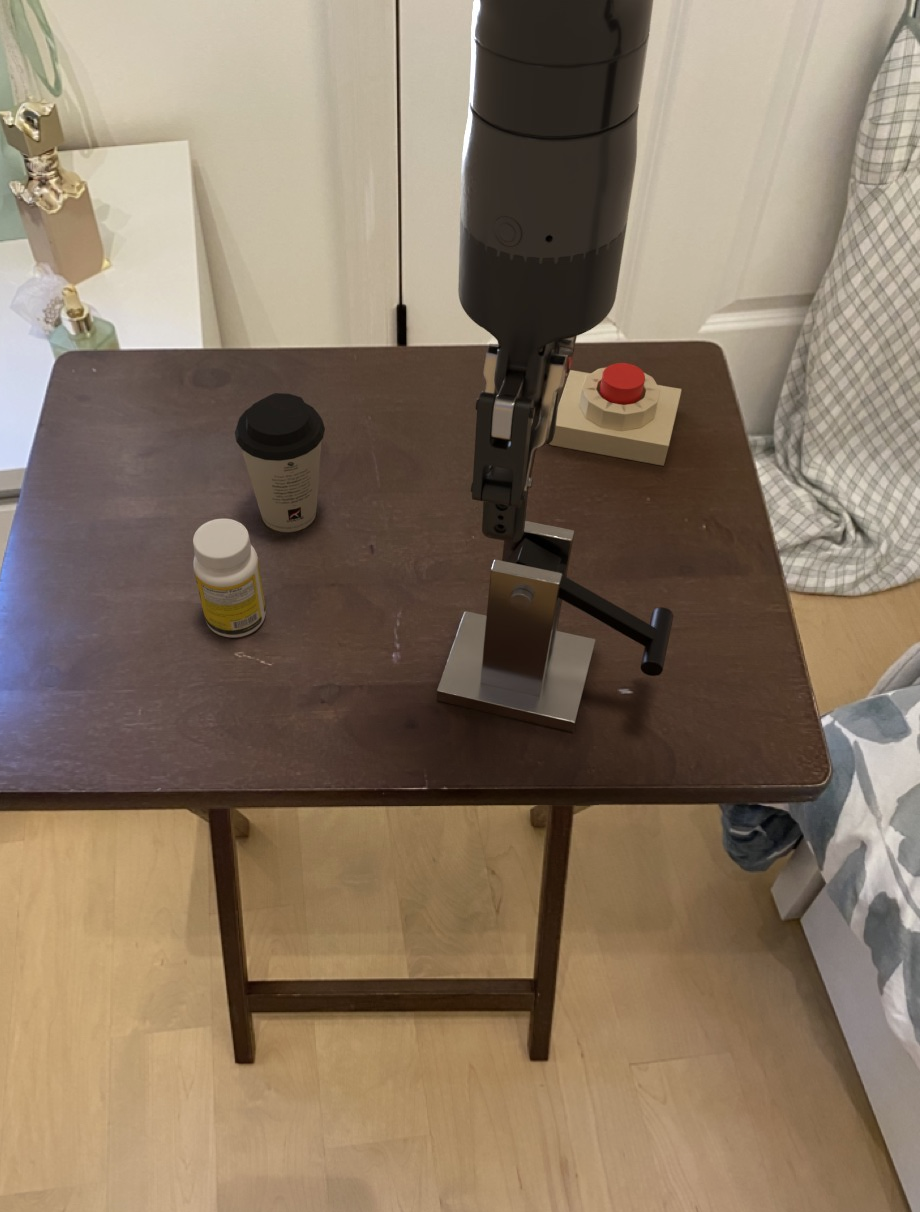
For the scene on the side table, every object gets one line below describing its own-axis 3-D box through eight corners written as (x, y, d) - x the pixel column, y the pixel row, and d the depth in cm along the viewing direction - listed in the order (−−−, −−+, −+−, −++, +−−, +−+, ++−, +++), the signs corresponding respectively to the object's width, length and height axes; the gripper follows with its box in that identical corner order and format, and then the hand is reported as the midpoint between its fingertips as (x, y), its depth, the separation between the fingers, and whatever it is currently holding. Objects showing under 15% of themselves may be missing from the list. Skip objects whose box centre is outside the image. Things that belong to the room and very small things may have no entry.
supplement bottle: (220, 587, 85) (204, 507, 79) (275, 601, 84) (264, 521, 78) (195, 631, 83) (176, 552, 76) (252, 646, 82) (238, 567, 75)
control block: (676, 409, 98) (686, 371, 94) (663, 466, 93) (673, 428, 90) (567, 390, 99) (572, 352, 96) (549, 445, 95) (554, 407, 92)
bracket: (593, 649, 81) (621, 523, 71) (572, 732, 77) (599, 610, 66) (464, 621, 83) (473, 494, 73) (436, 700, 78) (441, 577, 68)
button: (644, 383, 94) (648, 366, 93) (638, 409, 92) (641, 392, 91) (603, 376, 95) (606, 359, 93) (596, 401, 93) (599, 384, 91)
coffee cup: (316, 549, 88) (308, 451, 80) (235, 534, 89) (219, 436, 81) (340, 492, 92) (335, 393, 84) (262, 478, 93) (249, 380, 85)
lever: (660, 628, 75) (682, 610, 73) (649, 682, 72) (671, 665, 70) (512, 543, 73) (530, 522, 71) (494, 596, 70) (512, 575, 68)
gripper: (600, 305, 44) (560, 585, 57) (651, 140, 52) (606, 418, 65) (421, 281, 45) (422, 559, 58) (498, 124, 53) (484, 399, 66)
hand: (519, 485), depth 62 cm, fingers open, 8 cm apart
